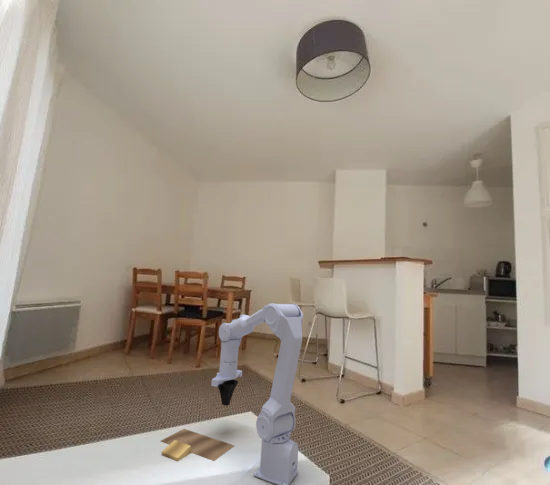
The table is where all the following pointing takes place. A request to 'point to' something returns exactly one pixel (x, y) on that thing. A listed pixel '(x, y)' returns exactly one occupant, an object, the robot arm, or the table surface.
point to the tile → (177, 450)
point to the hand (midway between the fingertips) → (225, 404)
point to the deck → (200, 444)
